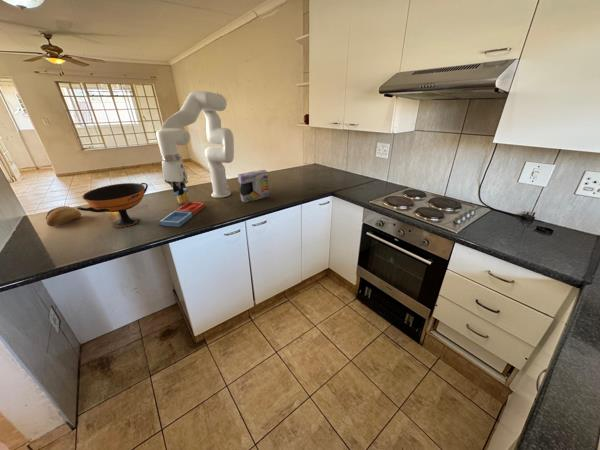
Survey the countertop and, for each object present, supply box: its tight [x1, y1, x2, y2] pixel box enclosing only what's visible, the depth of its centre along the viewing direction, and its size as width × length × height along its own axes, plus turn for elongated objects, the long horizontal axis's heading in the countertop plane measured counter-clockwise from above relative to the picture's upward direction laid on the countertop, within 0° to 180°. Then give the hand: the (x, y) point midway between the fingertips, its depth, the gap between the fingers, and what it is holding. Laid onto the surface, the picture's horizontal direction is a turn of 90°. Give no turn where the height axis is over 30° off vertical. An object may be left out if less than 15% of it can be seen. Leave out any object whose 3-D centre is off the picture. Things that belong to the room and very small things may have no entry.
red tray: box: [175, 201, 206, 216], centre depth 143 cm, size 13×11×2 cm
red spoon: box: [185, 205, 197, 210], centre depth 143 cm, size 9×4×2 cm, turn 171°
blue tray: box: [159, 210, 194, 228], centre depth 131 cm, size 13×11×2 cm
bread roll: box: [45, 205, 82, 227], centre depth 129 cm, size 10×15×8 cm, turn 163°
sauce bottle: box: [176, 180, 190, 206], centre depth 148 cm, size 7×6×20 cm
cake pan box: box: [237, 169, 270, 204], centre depth 155 cm, size 19×5×18 cm, turn 123°
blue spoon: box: [173, 187, 189, 197], centre depth 127 cm, size 9×4×2 cm, turn 172°
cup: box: [76, 182, 149, 228], centre depth 125 cm, size 36×26×18 cm
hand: (179, 194), depth 126 cm, fingers closed on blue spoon, 1 cm apart
